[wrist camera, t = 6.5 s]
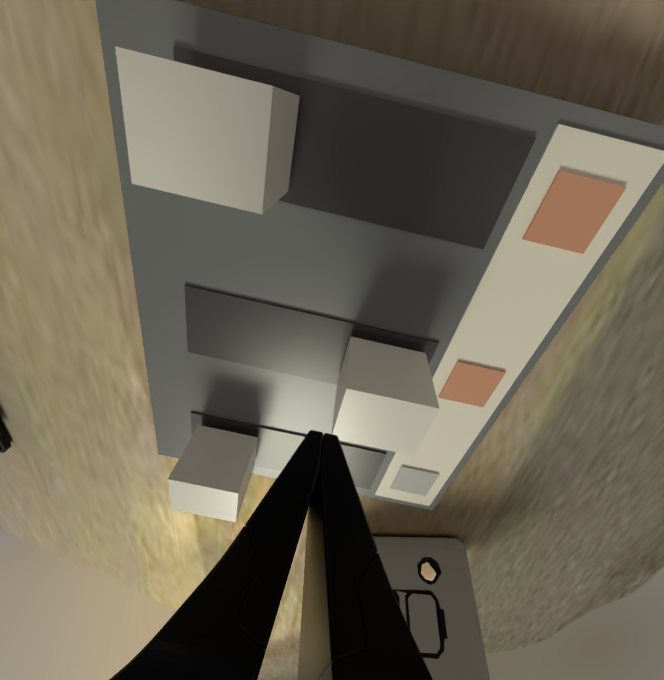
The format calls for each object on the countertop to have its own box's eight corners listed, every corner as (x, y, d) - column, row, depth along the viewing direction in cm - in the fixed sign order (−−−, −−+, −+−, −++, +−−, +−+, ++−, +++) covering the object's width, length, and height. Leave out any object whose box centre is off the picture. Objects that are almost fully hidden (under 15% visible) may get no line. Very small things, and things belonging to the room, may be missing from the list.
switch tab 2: (199, 454, 18) (171, 509, 15) (198, 424, 16) (167, 479, 14) (254, 466, 18) (236, 522, 15) (257, 437, 17) (238, 493, 14)
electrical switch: (464, 533, 23) (508, 740, 16) (457, 560, 26) (492, 744, 19) (332, 530, 25) (318, 720, 17) (341, 557, 28) (332, 726, 21)
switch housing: (171, 433, 20) (156, 457, 19) (128, -3, 9) (87, -25, 8) (428, 486, 21) (432, 513, 19) (655, 133, 10) (702, 135, 9)
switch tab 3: (337, 382, 14) (330, 438, 12) (350, 336, 13) (346, 388, 10) (405, 397, 14) (413, 455, 12) (425, 353, 13) (439, 408, 10)
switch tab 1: (190, 168, 10) (131, 183, 8) (187, 67, 9) (115, 46, 6) (288, 191, 10) (261, 214, 8) (299, 96, 9) (272, 85, 6)
